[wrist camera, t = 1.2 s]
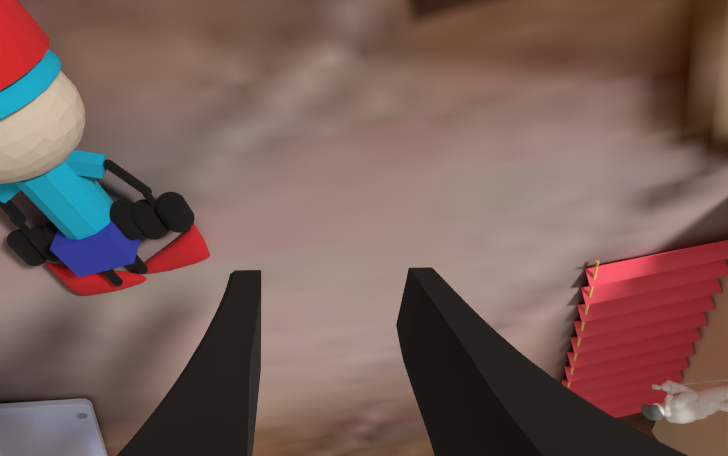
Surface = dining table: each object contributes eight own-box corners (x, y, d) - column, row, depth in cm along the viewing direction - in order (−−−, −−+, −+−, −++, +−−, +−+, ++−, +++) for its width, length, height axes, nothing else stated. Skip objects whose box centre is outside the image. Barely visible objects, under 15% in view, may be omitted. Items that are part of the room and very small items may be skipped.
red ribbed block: (600, 188, 24) (812, 375, 15) (829, 145, 25) (1158, 296, 16) (542, 455, 39) (631, 634, 30) (689, 421, 40) (819, 583, 31)
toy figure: (228, 224, 24) (2, -158, 13) (220, 309, 20) (-94, -115, 9) (80, 260, 24) (-258, -83, 13) (49, 348, 21) (-443, -16, 10)
